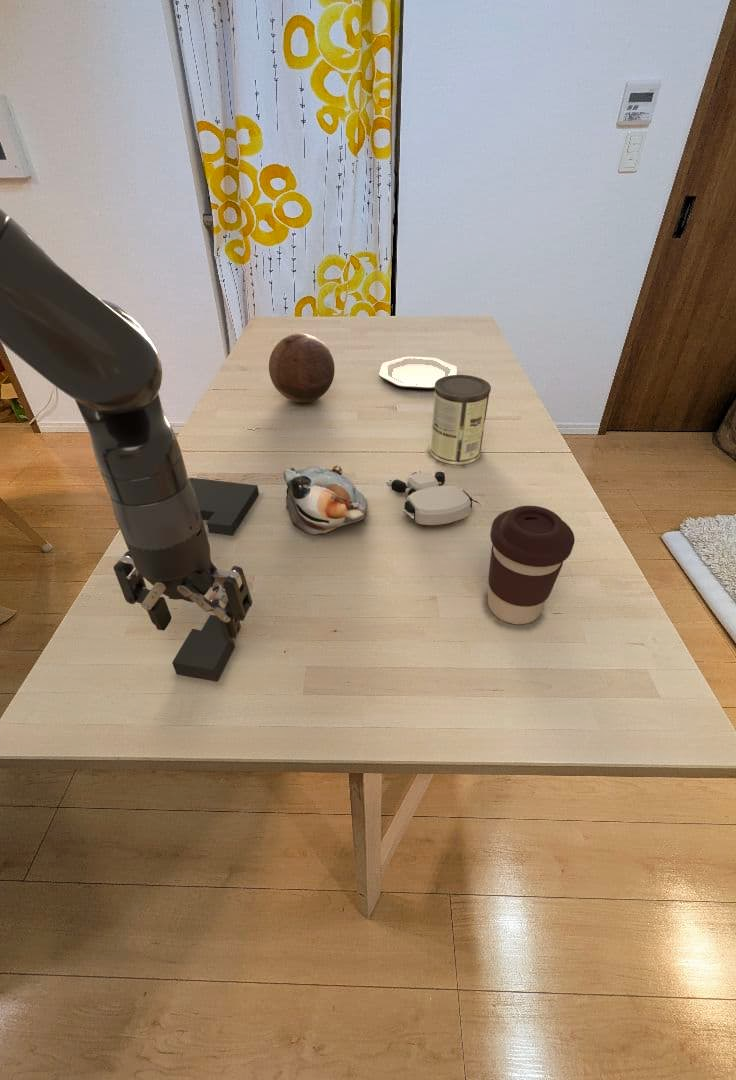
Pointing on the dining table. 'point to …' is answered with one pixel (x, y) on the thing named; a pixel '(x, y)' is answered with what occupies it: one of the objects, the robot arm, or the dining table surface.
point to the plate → (415, 373)
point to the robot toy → (432, 498)
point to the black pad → (204, 652)
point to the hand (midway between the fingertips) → (198, 630)
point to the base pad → (223, 503)
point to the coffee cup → (525, 561)
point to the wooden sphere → (301, 367)
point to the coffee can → (459, 418)
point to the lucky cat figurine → (322, 499)
